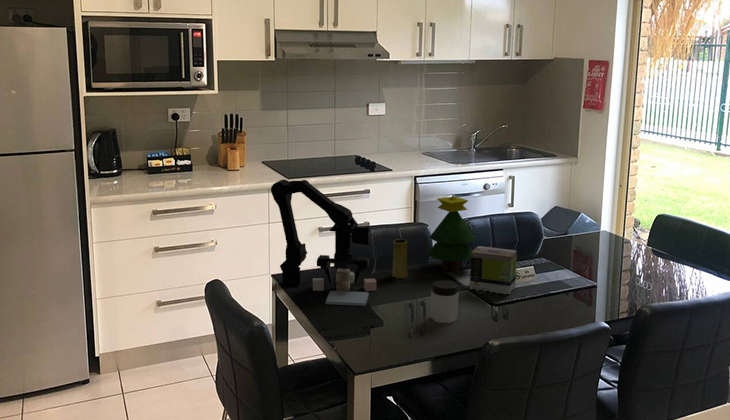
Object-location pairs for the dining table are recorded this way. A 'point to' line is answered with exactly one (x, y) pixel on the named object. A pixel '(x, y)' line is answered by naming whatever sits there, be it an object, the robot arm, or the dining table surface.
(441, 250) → the decorative tree
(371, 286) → the pink block
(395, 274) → the vase
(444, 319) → the jar
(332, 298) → the blue board
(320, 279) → the off-white block
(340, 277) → the birch block
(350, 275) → the sage cylinder
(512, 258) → the tea box
